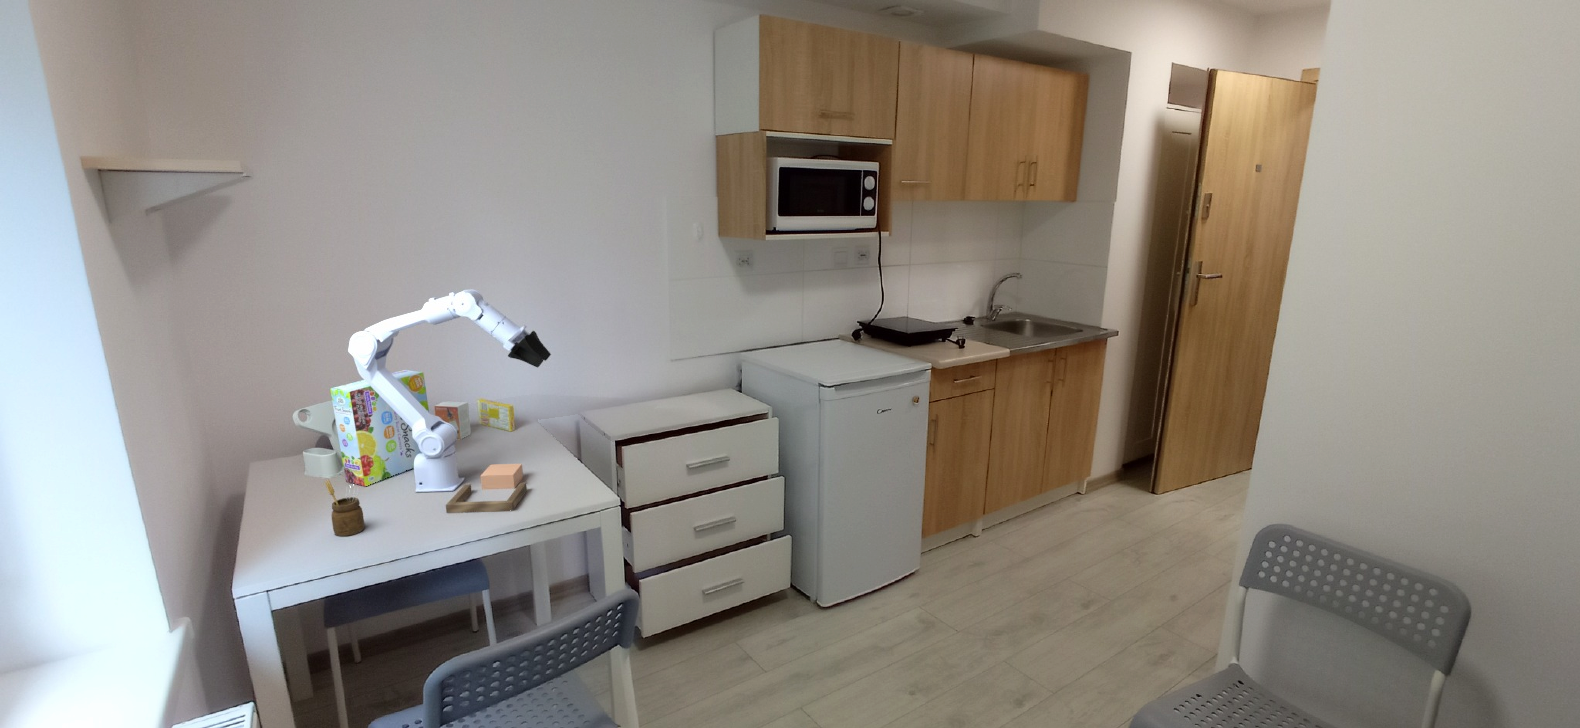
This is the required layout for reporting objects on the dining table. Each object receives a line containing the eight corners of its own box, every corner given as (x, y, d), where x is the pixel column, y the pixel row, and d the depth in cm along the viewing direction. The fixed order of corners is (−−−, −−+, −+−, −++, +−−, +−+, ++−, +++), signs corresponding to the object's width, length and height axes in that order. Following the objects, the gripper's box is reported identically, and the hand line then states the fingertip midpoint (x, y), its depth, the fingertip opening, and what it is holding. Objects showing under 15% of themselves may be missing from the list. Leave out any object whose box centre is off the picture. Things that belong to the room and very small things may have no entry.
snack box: (415, 456, 209) (405, 368, 204) (437, 460, 206) (427, 371, 200) (342, 482, 190) (328, 386, 184) (364, 488, 187) (351, 390, 181)
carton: (482, 490, 185) (480, 475, 185) (492, 478, 193) (490, 464, 192) (514, 489, 186) (513, 474, 185) (523, 477, 194) (521, 463, 193)
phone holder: (327, 479, 192) (317, 413, 188) (300, 475, 195) (289, 410, 191) (384, 458, 208) (376, 396, 204) (358, 454, 211) (349, 393, 207)
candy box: (516, 430, 233) (513, 405, 231) (510, 432, 231) (508, 406, 229) (484, 422, 241) (481, 397, 239) (478, 423, 239) (475, 399, 238)
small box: (437, 438, 224) (433, 405, 222) (448, 433, 230) (444, 400, 228) (460, 440, 223) (457, 406, 221) (471, 434, 229) (468, 401, 226)
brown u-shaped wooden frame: (446, 513, 172) (445, 505, 171) (465, 492, 184) (464, 484, 183) (512, 511, 173) (511, 503, 172) (526, 490, 185) (526, 482, 184)
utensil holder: (357, 536, 160) (349, 484, 157) (327, 537, 159) (319, 485, 157) (370, 524, 166) (363, 474, 163) (340, 525, 165) (333, 475, 162)
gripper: (499, 318, 172) (547, 354, 175) (517, 309, 186) (561, 343, 189) (481, 341, 173) (529, 377, 176) (500, 330, 187) (544, 363, 190)
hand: (544, 360), depth 182 cm, fingers open, 7 cm apart
